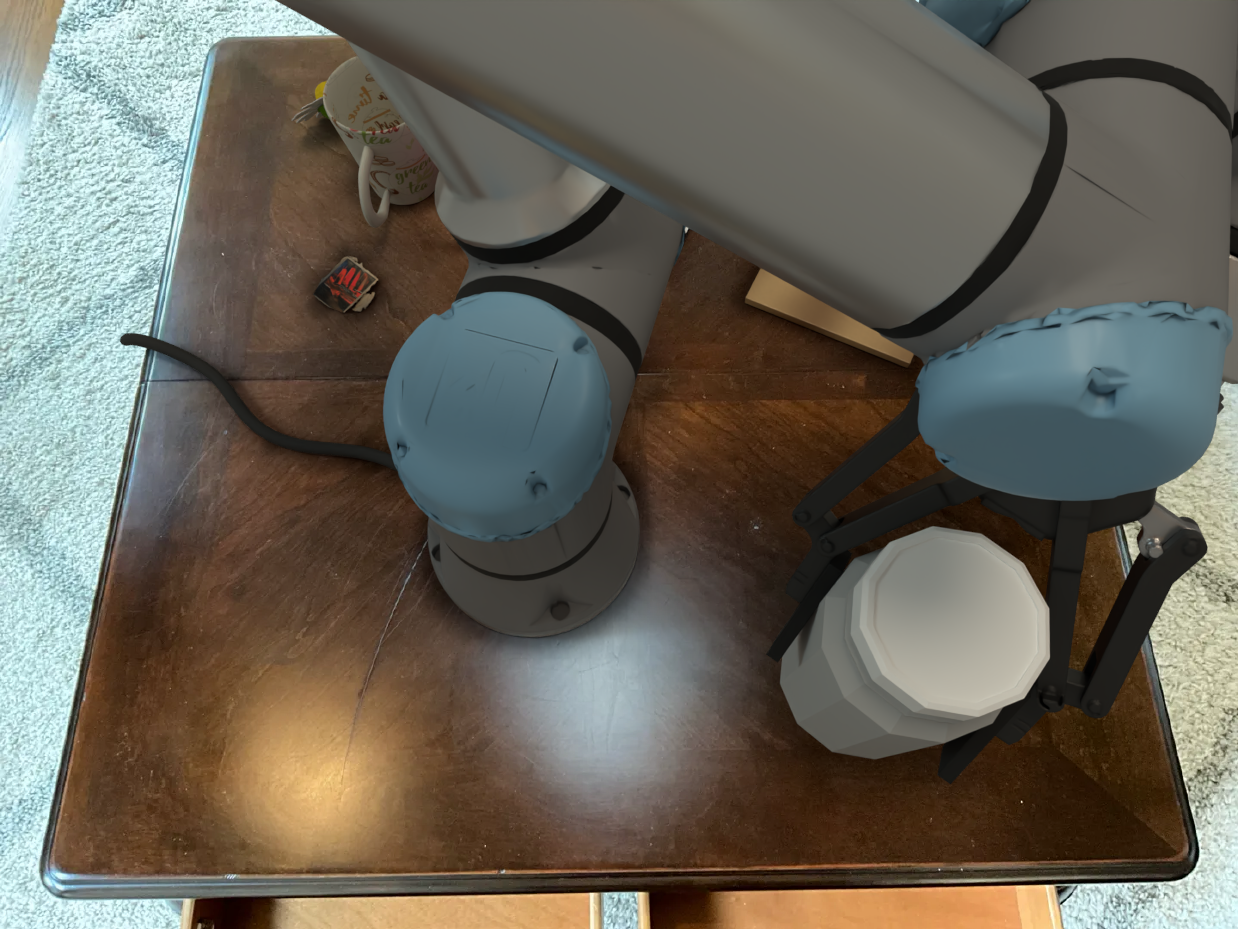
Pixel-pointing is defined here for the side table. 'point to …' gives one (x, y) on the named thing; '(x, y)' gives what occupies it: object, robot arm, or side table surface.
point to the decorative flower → (313, 106)
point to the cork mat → (820, 317)
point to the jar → (917, 645)
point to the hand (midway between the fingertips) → (860, 704)
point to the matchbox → (346, 286)
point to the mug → (377, 141)
